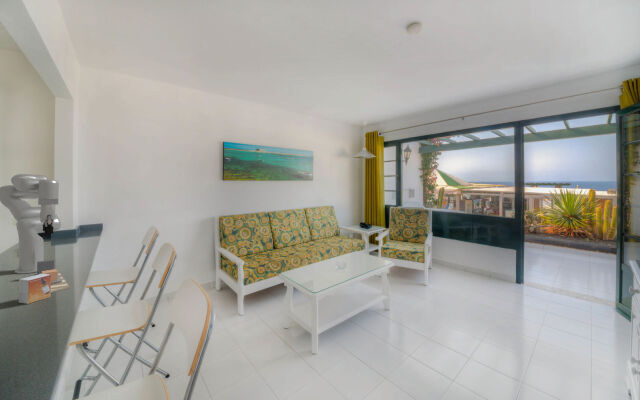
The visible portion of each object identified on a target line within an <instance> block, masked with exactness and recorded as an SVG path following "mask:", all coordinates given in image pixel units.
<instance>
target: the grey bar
mask: <svg viewBox="0 0 640 400" xmlns="http://www.w3.org/2000/svg"><path fill="white" fill-rule="evenodd" d="M53 269H55V260H54V259H47V260H44V261H38V262H37V272H36V274H34V275H33V276H35V275H39V274H42V271H47V270H53ZM60 282H62V280H61V279H60V277H59V275H58V274H57V281H53V282H51V284H55V283H60Z"/></svg>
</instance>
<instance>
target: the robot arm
mask: <svg viewBox="0 0 640 400" xmlns="http://www.w3.org/2000/svg"><path fill="white" fill-rule="evenodd" d="M10 183H11V184H12V185H11V184H10V185H3V186H0V203H1V204H2V205H3V206H4V207H6V209H8V210H9V212H10V213H11V214H12V216H13V218H14V219H15V220H16V225H15V226H16V231H17V235H18V268H17V269H15V270H14V274H18V275H19V274H20V275H21V274H31V273H37V262H38V261H45V260H44V259H45V256H44V255H45V252H44V249H45V248H44V247H45V245H44V244H45V242H44V241H45V240H44V238H43V237H41V236H40V235H39V234H42V233H43V234H44V235H50V234H52V235H53V234H54V232H57V231H59V230H60V229H61V227H62V223H61V220H60V219H59V217H58V216H57V214H56V206H57V205H58V206H59V188H60V187H59V186H60V185H59V184H60V183H59V181H58V180H54V179H50V178H47V177H46V176H44V175H41V174H30V173H29V174H28V173H19V174H18V173H17V174H15V175H13V176H12V177H11V179H10ZM25 199H26V200H28V199H29V200H30V199H31V200H34V199H37V204H38V206H31V204H30V203H29V202H28V201H26V200H25Z"/></svg>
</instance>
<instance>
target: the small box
mask: <svg viewBox="0 0 640 400" xmlns="http://www.w3.org/2000/svg"><path fill="white" fill-rule="evenodd" d="M30 276H31V277H30ZM30 276H27V277H23V278H19V279H18V303H20V304H25V305H29V304H32V303H35V302H38V301H42V300H44V299H48V298H51V297H52V296H51V295H52V294H51V293H52V292H51V275H49V274H39V275H35V276H34V275H30Z"/></svg>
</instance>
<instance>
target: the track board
mask: <svg viewBox="0 0 640 400" xmlns="http://www.w3.org/2000/svg"><path fill="white" fill-rule="evenodd" d="M57 274H58V275H59V277H60V279H61V280H62V282H60V283H55V284H51V293H54V292H60V291H64V290H69V289H70V285H69V284H68V283H67V281H66V279H65V278H64V277H63V275H62V274H61V272H60V271H57ZM31 276H32V275H30V276H29V277H31Z"/></svg>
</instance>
